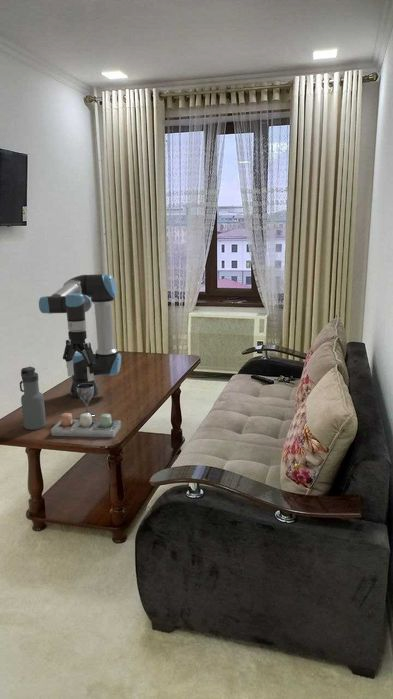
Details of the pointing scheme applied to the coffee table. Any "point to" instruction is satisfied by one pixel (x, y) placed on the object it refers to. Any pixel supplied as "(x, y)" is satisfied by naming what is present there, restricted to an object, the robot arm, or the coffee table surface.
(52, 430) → the panel
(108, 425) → the pale green rounded egg
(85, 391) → the wine glass
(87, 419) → the white egg
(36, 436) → the coffee table surface
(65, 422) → the brown egg
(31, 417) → the water bottle
